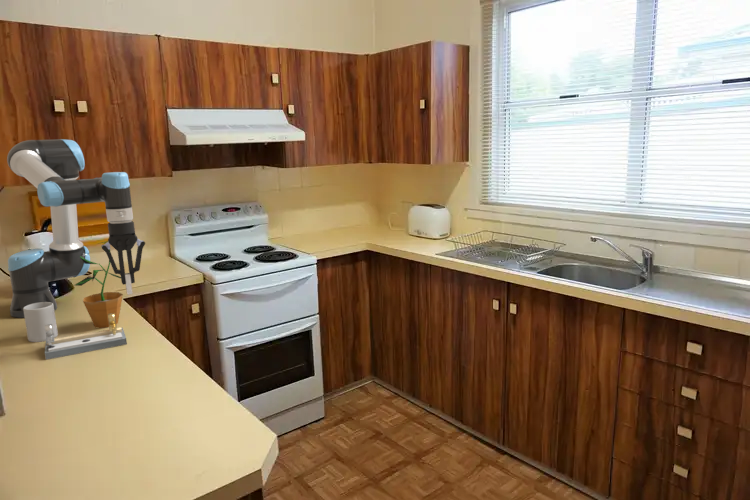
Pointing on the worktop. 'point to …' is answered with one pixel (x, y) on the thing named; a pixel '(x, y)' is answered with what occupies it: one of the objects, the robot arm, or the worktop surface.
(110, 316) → the brass slider pointer
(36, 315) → the mug
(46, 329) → the fixed leg
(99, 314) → the potted plant
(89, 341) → the board
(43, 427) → the worktop surface
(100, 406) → the worktop surface
